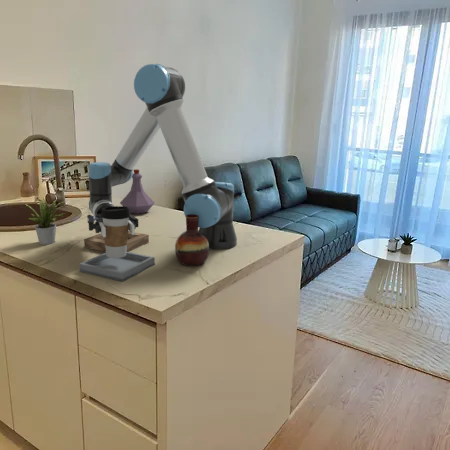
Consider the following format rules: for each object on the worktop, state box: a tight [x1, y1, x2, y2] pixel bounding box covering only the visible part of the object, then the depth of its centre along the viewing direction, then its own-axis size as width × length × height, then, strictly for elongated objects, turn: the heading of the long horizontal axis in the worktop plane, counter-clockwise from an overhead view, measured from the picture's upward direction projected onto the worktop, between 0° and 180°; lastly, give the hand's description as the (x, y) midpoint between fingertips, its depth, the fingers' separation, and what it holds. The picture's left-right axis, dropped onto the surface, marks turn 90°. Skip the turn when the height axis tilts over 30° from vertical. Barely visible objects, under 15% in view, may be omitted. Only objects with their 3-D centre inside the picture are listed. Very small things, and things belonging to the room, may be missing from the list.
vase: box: [174, 214, 210, 267], centre depth 137 cm, size 11×11×15 cm
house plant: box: [24, 198, 66, 246], centre depth 152 cm, size 14×14×16 cm
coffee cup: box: [101, 205, 131, 258], centre depth 129 cm, size 8×8×15 cm
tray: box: [78, 251, 156, 282], centre depth 132 cm, size 16×16×2 cm
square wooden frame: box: [83, 230, 150, 253], centre depth 153 cm, size 16×16×3 cm
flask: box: [119, 168, 155, 215], centre depth 201 cm, size 16×16×20 cm
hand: (119, 231), depth 124 cm, fingers closed on coffee cup, 8 cm apart
